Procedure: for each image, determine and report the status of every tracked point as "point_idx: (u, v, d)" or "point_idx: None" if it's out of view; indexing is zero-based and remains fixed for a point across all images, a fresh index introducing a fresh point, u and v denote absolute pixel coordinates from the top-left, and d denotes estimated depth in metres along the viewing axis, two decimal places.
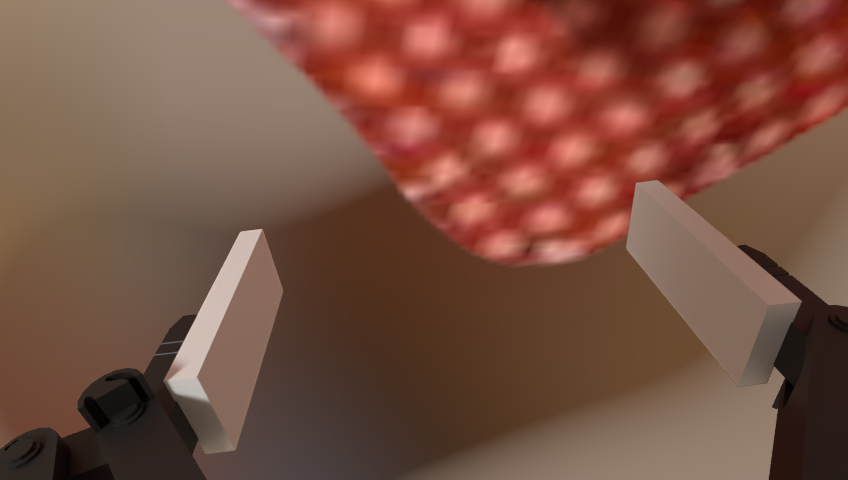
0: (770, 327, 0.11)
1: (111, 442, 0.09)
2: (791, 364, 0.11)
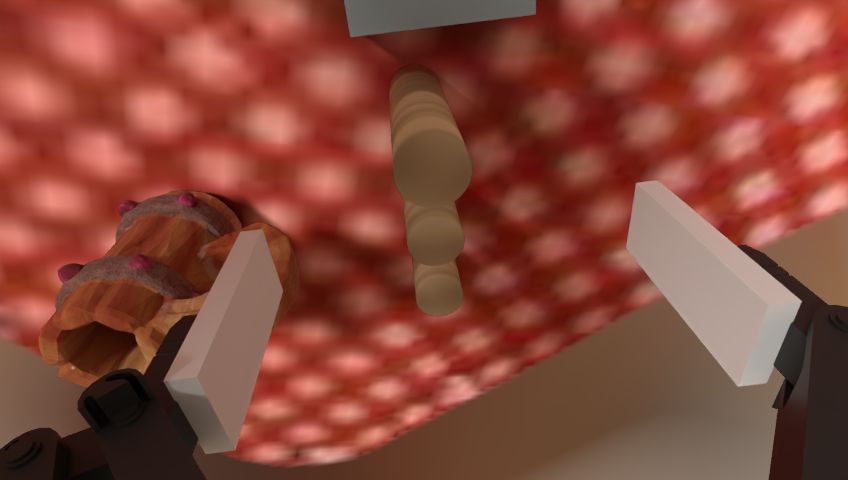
0: (770, 327, 0.11)
1: (111, 442, 0.09)
2: (791, 364, 0.11)
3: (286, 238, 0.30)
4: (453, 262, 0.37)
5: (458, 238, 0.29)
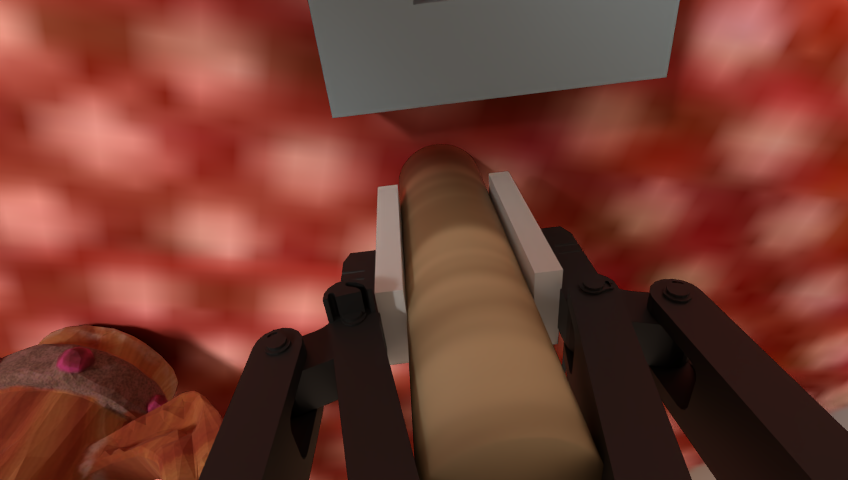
0: (543, 293, 0.13)
1: (337, 334, 0.11)
2: (565, 333, 0.12)
3: None
4: None
5: None
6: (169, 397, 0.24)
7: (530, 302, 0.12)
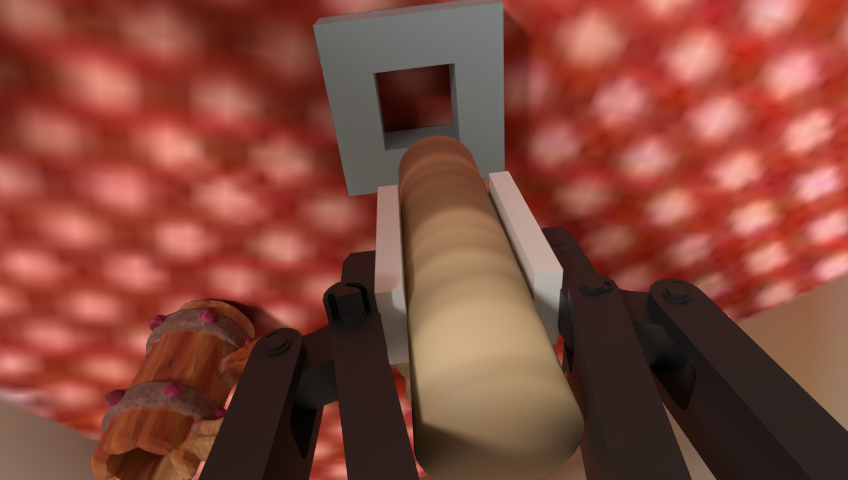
0: (543, 293, 0.13)
1: (338, 334, 0.11)
2: (565, 333, 0.12)
3: None
4: None
5: None
6: None
7: (518, 275, 0.13)
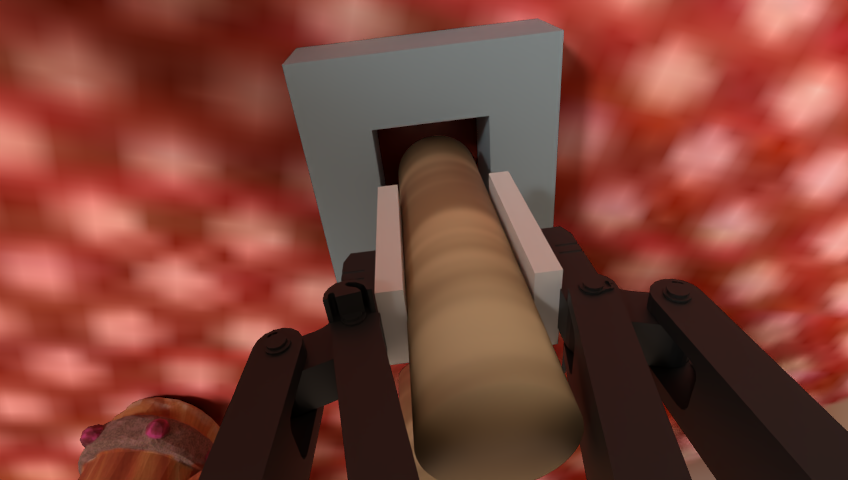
0: (543, 293, 0.13)
1: (337, 335, 0.11)
2: (565, 333, 0.12)
3: None
4: None
5: None
6: None
7: (518, 275, 0.13)
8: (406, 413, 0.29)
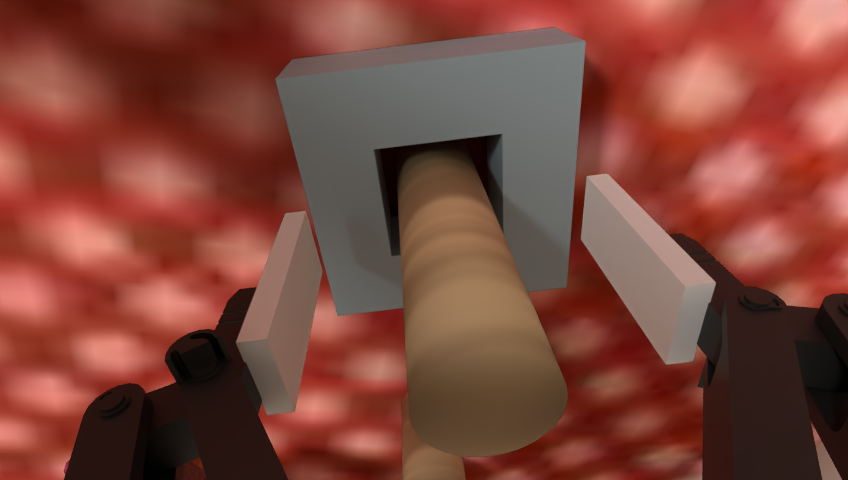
0: (689, 307, 0.12)
1: (190, 395, 0.10)
2: (711, 345, 0.12)
3: None
4: None
5: None
6: None
7: (509, 258, 0.13)
8: (409, 444, 0.27)
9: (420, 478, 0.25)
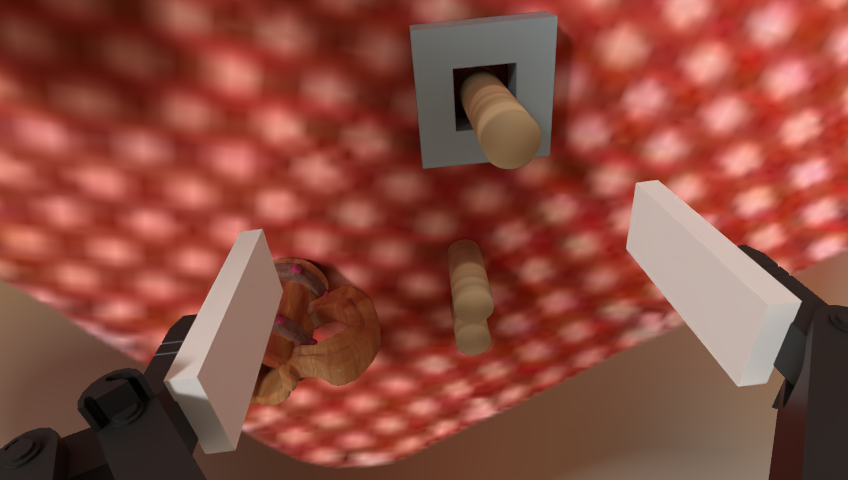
0: (770, 327, 0.11)
1: (111, 442, 0.09)
2: (791, 364, 0.11)
3: (370, 300, 0.43)
4: None
5: (489, 304, 0.41)
6: None
7: None
8: (454, 264, 0.45)
9: (462, 275, 0.43)
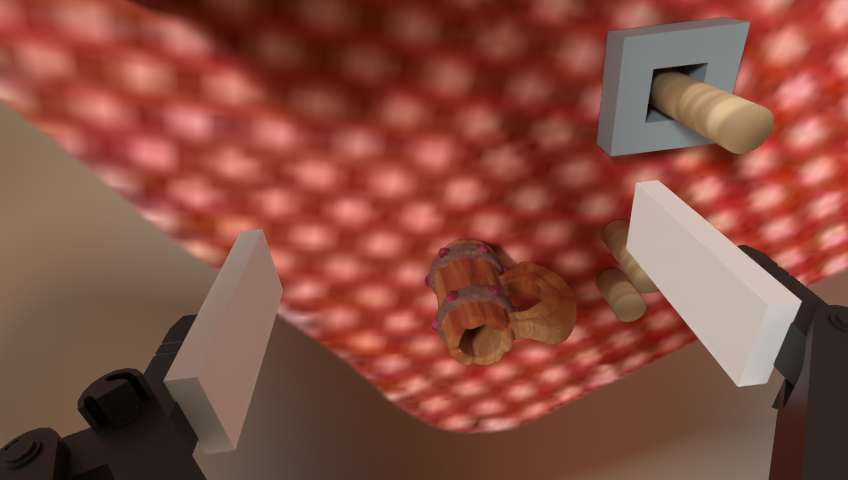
0: (770, 327, 0.11)
1: (111, 442, 0.09)
2: (791, 364, 0.11)
3: (555, 273, 0.49)
4: None
5: None
6: None
7: None
8: (620, 243, 0.51)
9: None
